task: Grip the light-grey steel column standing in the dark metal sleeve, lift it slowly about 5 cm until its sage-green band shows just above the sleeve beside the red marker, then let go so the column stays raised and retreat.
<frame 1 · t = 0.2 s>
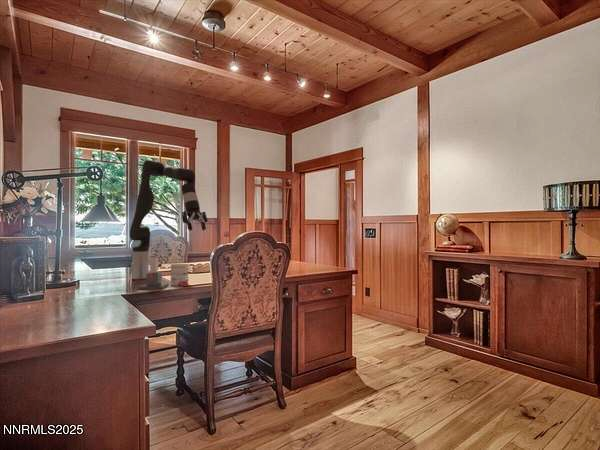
hand: (197, 230, 186), 31 cm above the table, tool tilted 20°, fingers open, 8 cm apart
column: (153, 270, 186), point 9 cm above the table, slide at 0.0 cm
ink box: (179, 285, 196), on the table
jack base: (153, 287, 186), on the table
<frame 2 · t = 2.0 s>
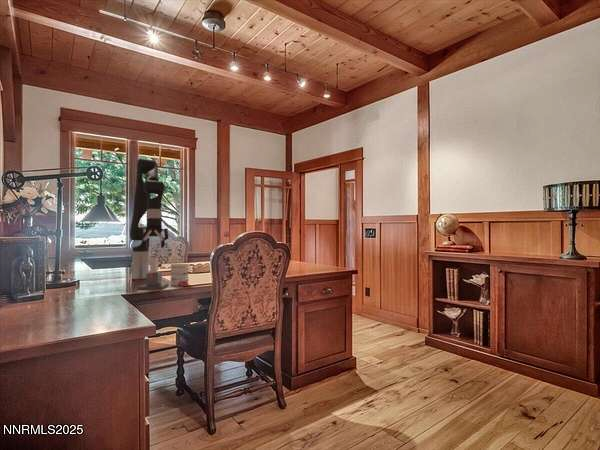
hand: (154, 247, 187), 22 cm above the table, tool pointing down, fingers open, 8 cm apart
nothing on the table moved.
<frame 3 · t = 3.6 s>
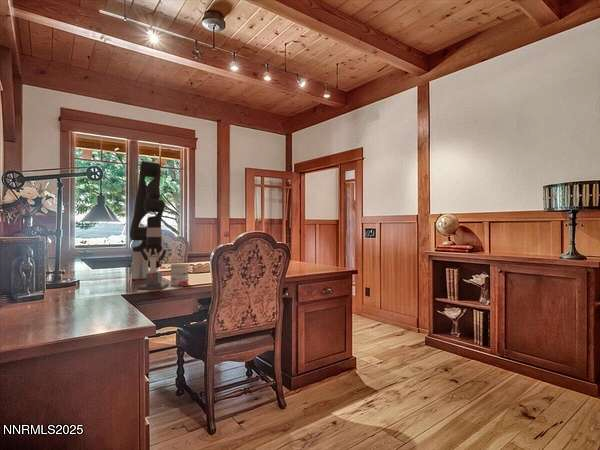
hand: (153, 267, 186), 11 cm above the table, tool pointing down, fingers closed on column, 3 cm apart
column: (153, 270, 186), point 9 cm above the table, slide at 0.0 cm, touching gripper
everything else where it was.
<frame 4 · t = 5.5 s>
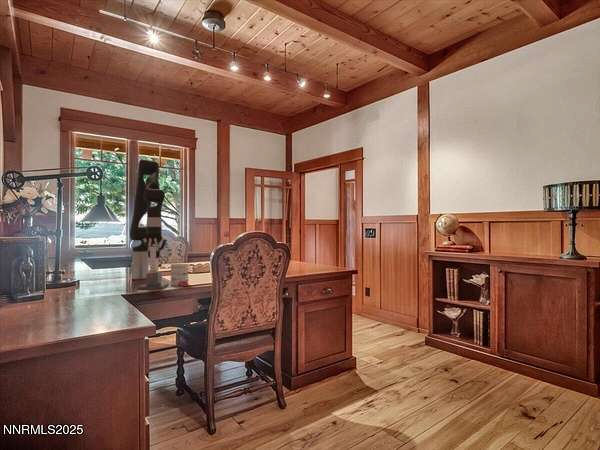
hand: (153, 257, 187), 16 cm above the table, tool pointing down, fingers closed on column, 3 cm apart
column: (154, 260, 187), point 15 cm above the table, slide at 5.4 cm, touching gripper
everything else where it was.
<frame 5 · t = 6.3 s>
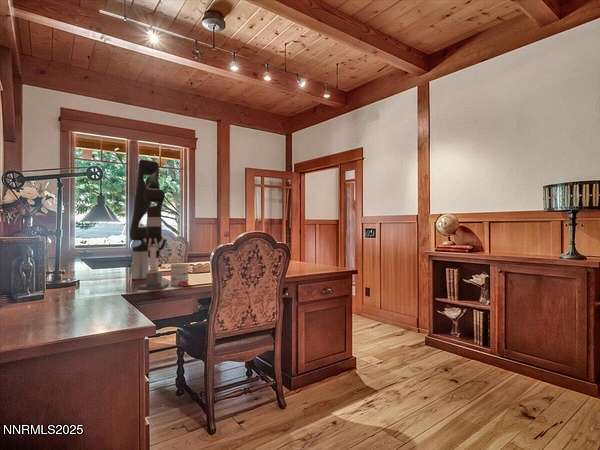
hand: (153, 257, 187), 16 cm above the table, tool pointing down, fingers closed on column, 3 cm apart
column: (154, 259, 187), point 15 cm above the table, slide at 5.5 cm, touching gripper
everything else where it was.
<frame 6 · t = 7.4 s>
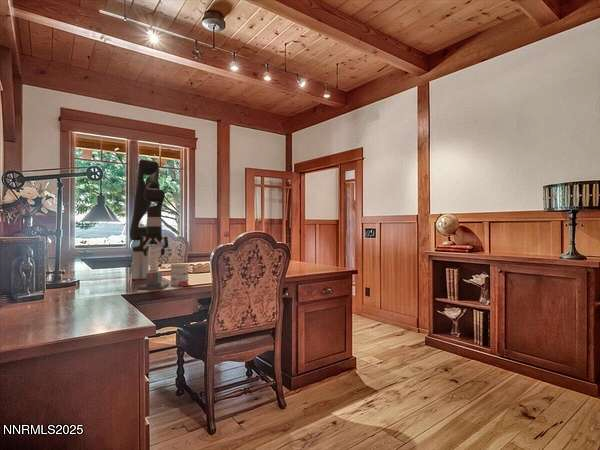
hand: (154, 255, 187), 17 cm above the table, tool pointing down, fingers open, 8 cm apart
column: (154, 259, 187), point 15 cm above the table, slide at 5.5 cm
everything else where it was.
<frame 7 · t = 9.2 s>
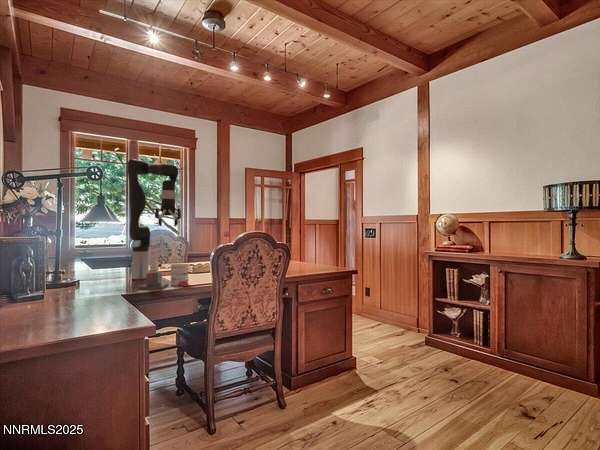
hand: (167, 225, 203), 33 cm above the table, tool pointing down, fingers open, 8 cm apart
nothing on the table moved.
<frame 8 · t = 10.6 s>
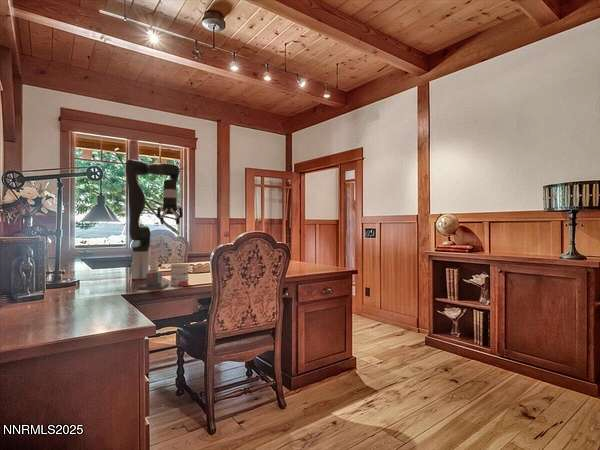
hand: (169, 224, 206), 34 cm above the table, tool pointing down, fingers open, 8 cm apart
nothing on the table moved.
at the end: column slide at 5.5 cm; the gripper is holding nothing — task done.
